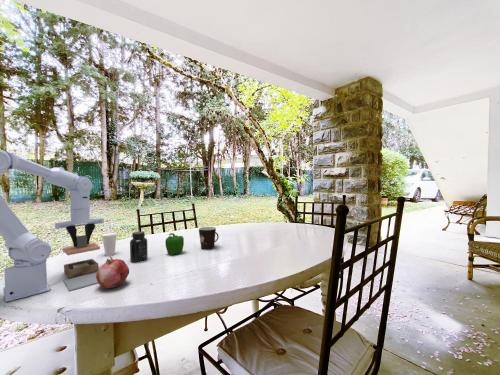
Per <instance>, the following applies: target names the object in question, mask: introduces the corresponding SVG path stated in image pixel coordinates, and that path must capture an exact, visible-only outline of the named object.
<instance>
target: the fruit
mask: <svg viewBox="0 0 500 375" xmlns="http://www.w3.org/2000/svg"><path fill="white" fill-rule="evenodd" d="M109 258H110V259H109ZM109 258H107V259H106V261H105V262H104V263H103V264H101V265H100V266H99V269H98V271H97V274H96V279H97V281H98V285H99V286H100V288H102V289H113V288H115V287H119V286H121V285H123V284H124V283H125V281H126V280H127V278H128V276H129V274H130V267H129V266H128V264H126V262H125V261H124V260H123V259H120V258H119V259H118V258H115V259H114V258H113V257H112V255H111V256H109Z"/></svg>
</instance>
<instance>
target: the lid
mask: <svg viewBox="0 0 500 375" xmlns="http://www.w3.org/2000/svg"><path fill="white" fill-rule="evenodd" d="M76 238H77V247H74V245H70V246H64V247H62V251H63V252H64V253H65V254H66V256H72V255H78V254H82V253H88V252H93V251H97V250H98V251H99V250H101V246H99V245H98V244H96V243H95V242H89V245H87V236H86V235H85V234H84V235H77V237H76Z"/></svg>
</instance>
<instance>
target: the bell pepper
mask: <svg viewBox="0 0 500 375" xmlns="http://www.w3.org/2000/svg"><path fill="white" fill-rule="evenodd" d="M168 235H169V236H168V237H167V238H165V241H164V242H165V248H166V252H167V254H168V255H170V256H174V255H179V254H181V253H182V252H183V249H184V244H185V243H184V242H185V240H184V236H183V235H177V234H176V235H175V233H174V232H170V233H169V234H168Z"/></svg>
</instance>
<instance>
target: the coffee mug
mask: <svg viewBox="0 0 500 375" xmlns="http://www.w3.org/2000/svg"><path fill="white" fill-rule="evenodd" d="M216 230H217V227H215V226H203V227H199V228H198V234H199V241H200V249H201V250H204V251H208V250H209V251H210V250H213V249H214V248H215V243H216V242H217V241H218V239H219V237H220V236H219V233H218V232H216ZM216 236H217V237H216Z"/></svg>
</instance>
